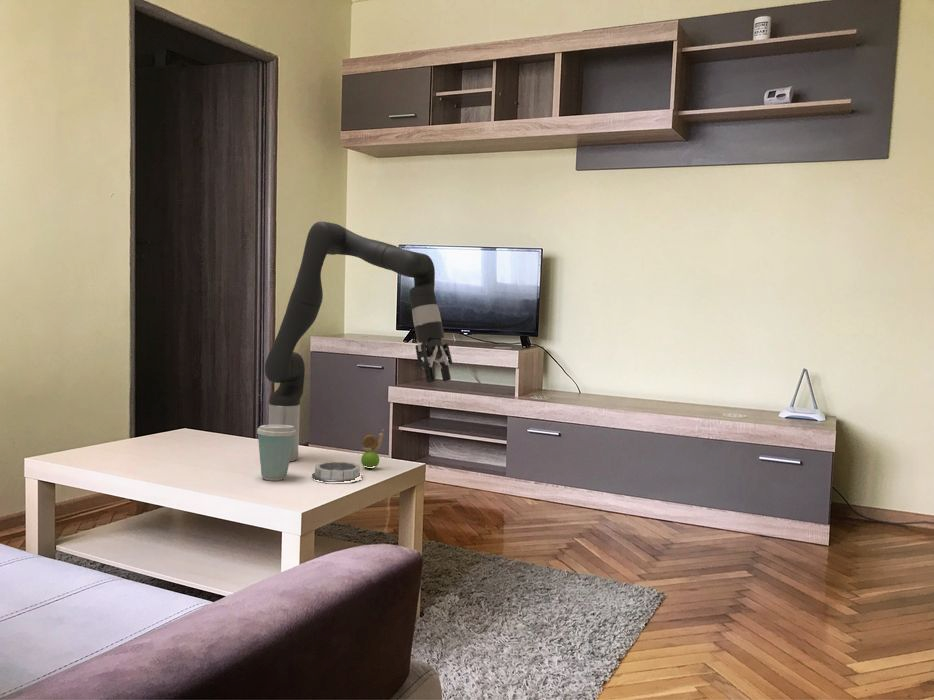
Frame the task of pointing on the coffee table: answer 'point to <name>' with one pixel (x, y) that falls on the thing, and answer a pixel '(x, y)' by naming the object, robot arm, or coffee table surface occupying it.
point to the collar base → (336, 471)
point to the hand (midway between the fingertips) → (439, 381)
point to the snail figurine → (371, 450)
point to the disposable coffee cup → (275, 450)
